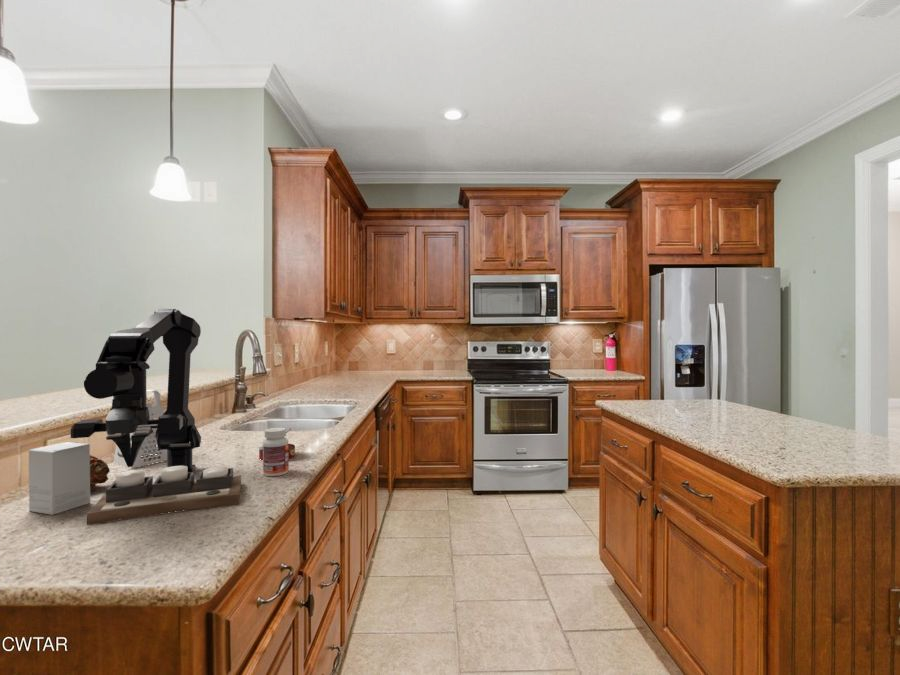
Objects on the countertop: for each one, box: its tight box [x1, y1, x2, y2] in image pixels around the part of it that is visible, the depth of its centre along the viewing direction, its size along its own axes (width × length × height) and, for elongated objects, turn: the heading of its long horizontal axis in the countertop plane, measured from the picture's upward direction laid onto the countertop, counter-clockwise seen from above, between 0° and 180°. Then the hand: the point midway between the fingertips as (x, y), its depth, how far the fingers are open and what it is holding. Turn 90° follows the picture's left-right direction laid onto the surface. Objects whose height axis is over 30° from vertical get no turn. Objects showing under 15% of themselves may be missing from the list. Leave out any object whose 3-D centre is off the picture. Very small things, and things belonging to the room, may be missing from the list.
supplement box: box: [28, 441, 91, 516], centre depth 95 cm, size 7×7×13 cm
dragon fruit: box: [90, 454, 111, 491], centre depth 105 cm, size 8×8×12 cm
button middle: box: [160, 466, 188, 483], centre depth 99 cm, size 5×5×2 cm
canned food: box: [258, 428, 296, 461], centre depth 133 cm, size 11×10×10 cm
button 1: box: [115, 469, 146, 488], centre depth 96 cm, size 5×5×2 cm
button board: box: [86, 467, 242, 525], centre depth 97 cm, size 14×26×4 cm, turn 113°
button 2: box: [202, 466, 228, 479], centre depth 102 cm, size 5×5×2 cm
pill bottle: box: [262, 427, 289, 477], centre depth 117 cm, size 6×6×11 cm
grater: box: [113, 389, 167, 469], centre depth 129 cm, size 10×10×20 cm
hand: (130, 466), depth 96 cm, fingers closed
